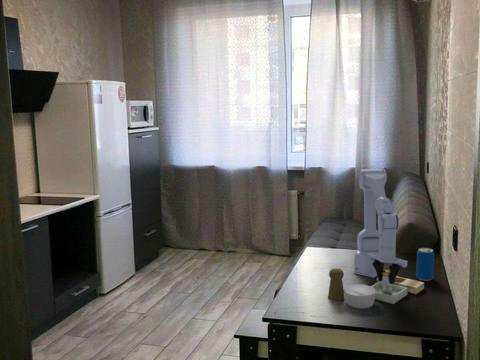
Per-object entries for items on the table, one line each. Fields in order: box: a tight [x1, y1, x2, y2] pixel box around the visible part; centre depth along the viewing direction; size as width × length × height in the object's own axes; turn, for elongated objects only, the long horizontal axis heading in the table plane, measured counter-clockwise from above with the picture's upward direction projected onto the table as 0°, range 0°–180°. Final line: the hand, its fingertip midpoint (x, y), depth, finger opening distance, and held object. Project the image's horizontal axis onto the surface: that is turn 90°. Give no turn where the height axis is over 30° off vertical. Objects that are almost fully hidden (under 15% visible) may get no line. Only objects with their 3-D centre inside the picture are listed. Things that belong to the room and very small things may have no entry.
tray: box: [370, 281, 408, 305], centre depth 190 cm, size 11×11×3 cm
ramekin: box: [343, 283, 376, 309], centre depth 183 cm, size 11×11×5 cm
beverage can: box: [415, 247, 435, 282], centre depth 205 cm, size 6×6×12 cm
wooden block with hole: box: [376, 275, 425, 295], centre depth 198 cm, size 16×7×2 cm, turn 48°
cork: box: [327, 268, 346, 302], centre depth 188 cm, size 6×6×11 cm
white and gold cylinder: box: [381, 269, 393, 295], centre depth 189 cm, size 4×4×8 cm
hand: (386, 281), depth 189 cm, fingers open, 4 cm apart
